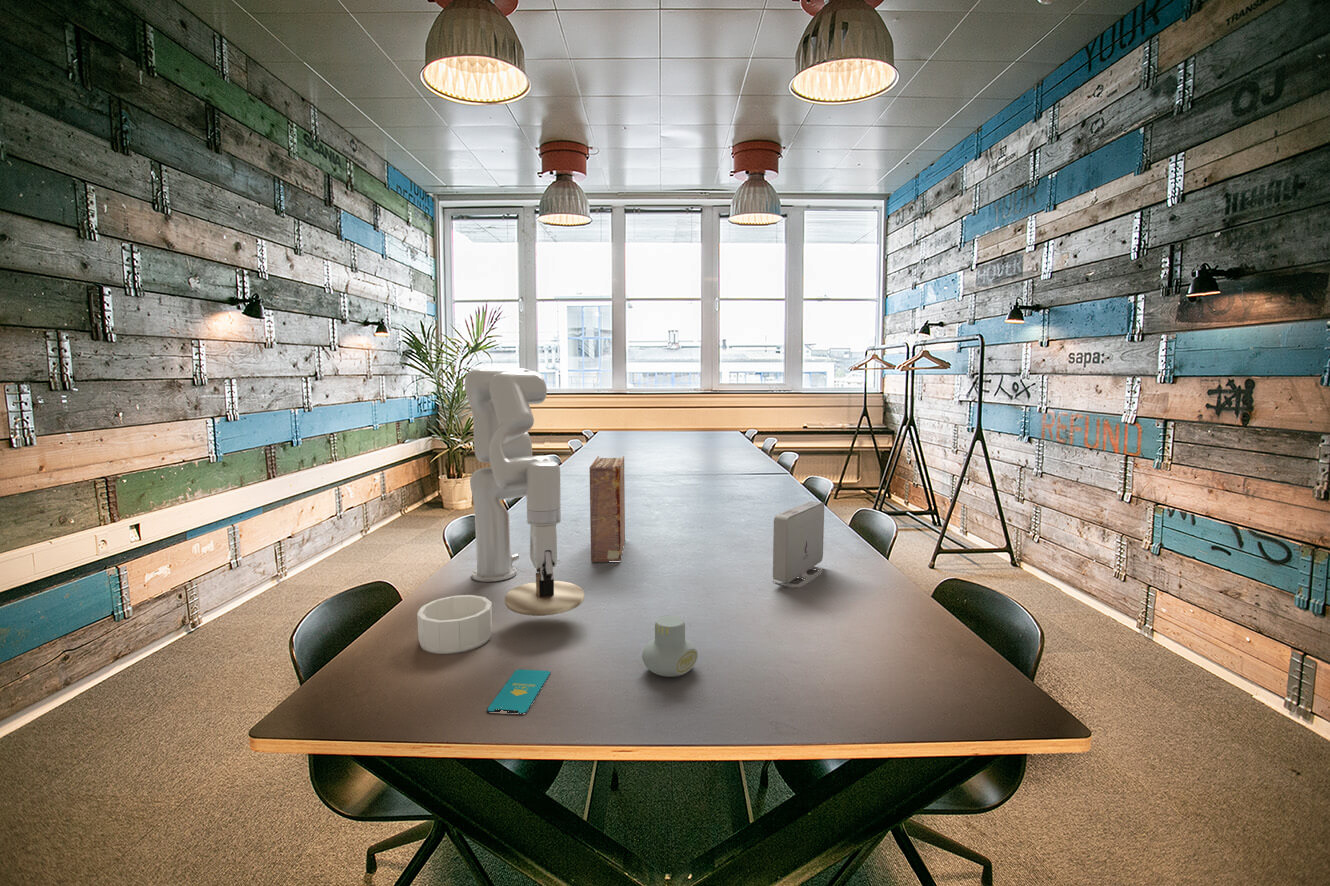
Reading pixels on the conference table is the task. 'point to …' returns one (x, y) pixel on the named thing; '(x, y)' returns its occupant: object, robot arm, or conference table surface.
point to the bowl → (455, 624)
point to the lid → (544, 598)
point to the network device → (798, 543)
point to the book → (607, 509)
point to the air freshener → (669, 648)
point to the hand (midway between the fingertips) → (545, 591)
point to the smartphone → (519, 691)
